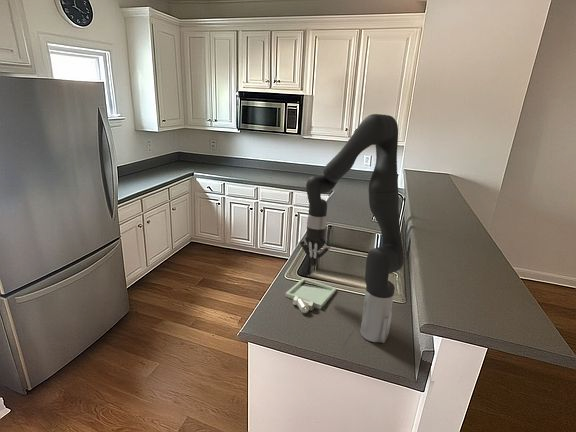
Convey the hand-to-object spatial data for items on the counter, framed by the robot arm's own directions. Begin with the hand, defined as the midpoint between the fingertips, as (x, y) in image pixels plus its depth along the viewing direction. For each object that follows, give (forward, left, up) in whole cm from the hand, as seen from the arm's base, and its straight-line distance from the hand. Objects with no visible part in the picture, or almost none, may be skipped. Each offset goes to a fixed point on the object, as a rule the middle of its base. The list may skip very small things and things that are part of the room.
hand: (313, 265), depth 138 cm
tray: (0, 0, -14) cm, 14 cm away
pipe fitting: (-2, +15, -12) cm, 19 cm away
